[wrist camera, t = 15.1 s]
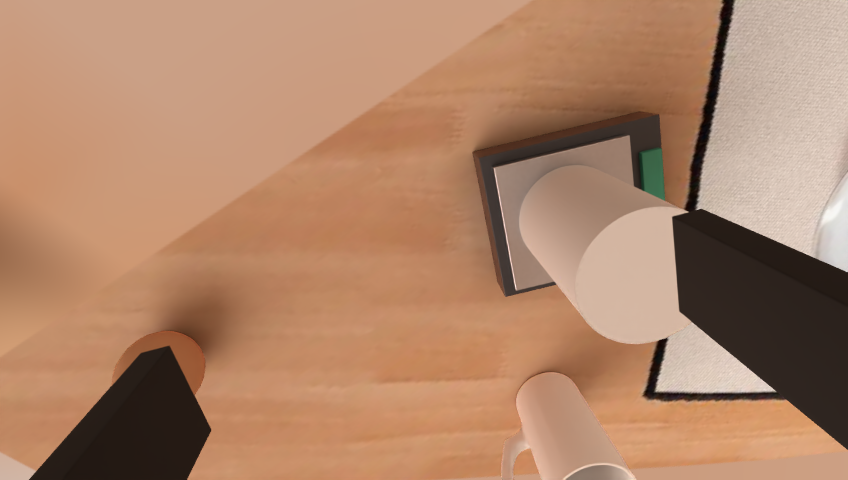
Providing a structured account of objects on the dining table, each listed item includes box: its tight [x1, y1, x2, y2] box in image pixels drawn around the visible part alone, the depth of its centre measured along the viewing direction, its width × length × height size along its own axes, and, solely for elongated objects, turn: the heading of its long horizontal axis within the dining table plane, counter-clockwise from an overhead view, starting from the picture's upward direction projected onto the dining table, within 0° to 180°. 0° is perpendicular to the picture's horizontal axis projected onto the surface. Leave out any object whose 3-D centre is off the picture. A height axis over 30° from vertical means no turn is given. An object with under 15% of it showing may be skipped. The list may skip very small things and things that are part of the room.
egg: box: [112, 331, 205, 395], centre depth 40 cm, size 6×6×8 cm
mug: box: [501, 372, 637, 480], centre depth 43 cm, size 10×7×12 cm, turn 120°
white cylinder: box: [519, 165, 692, 344], centre depth 32 cm, size 8×8×12 cm
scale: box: [473, 112, 665, 297], centre depth 40 cm, size 12×14×4 cm
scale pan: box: [492, 134, 634, 291], centre depth 38 cm, size 10×10×1 cm
